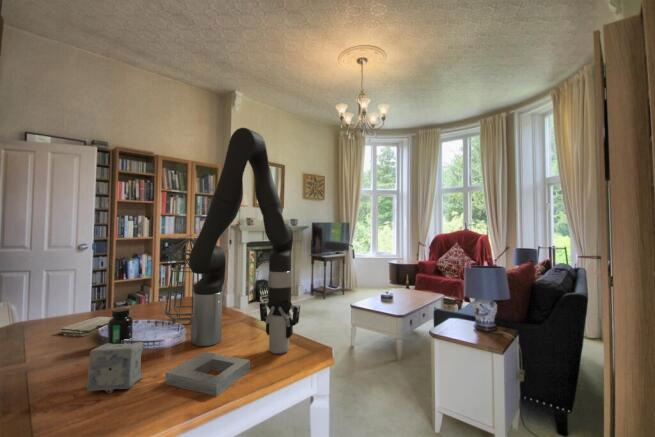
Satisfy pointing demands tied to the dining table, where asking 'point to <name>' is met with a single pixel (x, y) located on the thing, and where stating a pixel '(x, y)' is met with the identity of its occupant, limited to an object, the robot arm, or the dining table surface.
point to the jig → (196, 368)
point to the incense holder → (114, 366)
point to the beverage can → (278, 335)
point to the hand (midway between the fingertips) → (279, 335)
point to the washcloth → (85, 326)
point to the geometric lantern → (178, 278)
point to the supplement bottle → (120, 326)
